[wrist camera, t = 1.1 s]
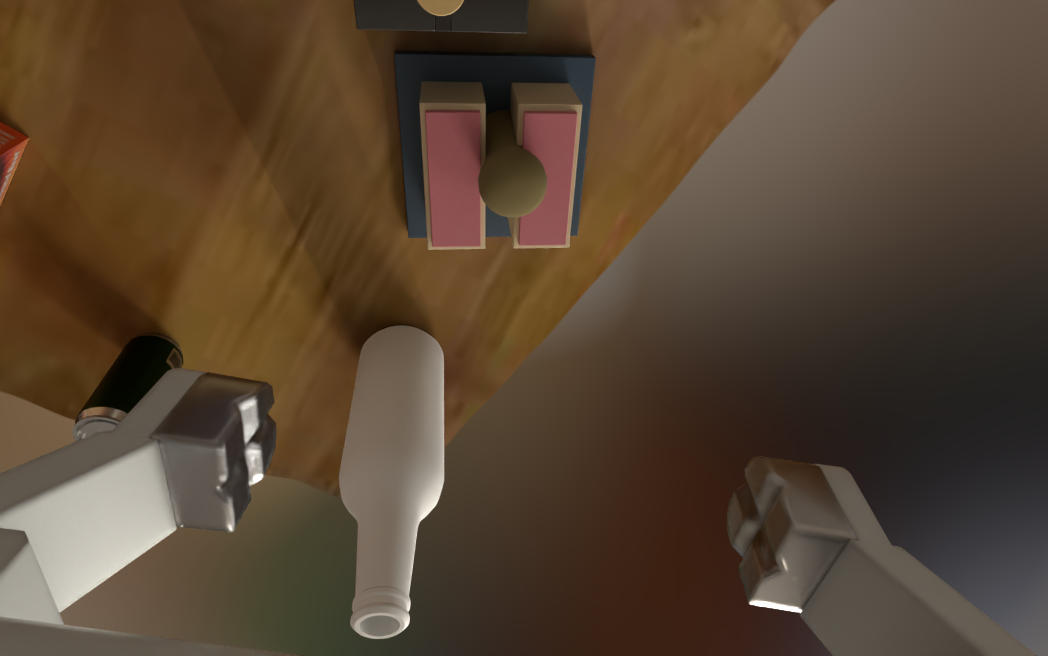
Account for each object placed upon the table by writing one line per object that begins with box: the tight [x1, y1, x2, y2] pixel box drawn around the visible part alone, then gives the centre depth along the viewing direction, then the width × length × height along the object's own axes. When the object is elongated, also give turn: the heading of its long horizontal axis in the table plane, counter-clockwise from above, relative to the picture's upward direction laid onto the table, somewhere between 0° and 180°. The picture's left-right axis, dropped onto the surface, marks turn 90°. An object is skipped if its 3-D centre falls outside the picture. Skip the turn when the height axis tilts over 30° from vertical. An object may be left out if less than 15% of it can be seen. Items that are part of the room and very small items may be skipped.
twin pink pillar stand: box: [394, 51, 596, 249], centre depth 51 cm, size 16×16×8 cm
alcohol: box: [339, 325, 444, 639], centre depth 54 cm, size 9×9×30 cm
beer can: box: [73, 333, 183, 441], centre depth 58 cm, size 5×5×12 cm
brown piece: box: [478, 110, 547, 218], centre depth 49 cm, size 6×6×11 cm
